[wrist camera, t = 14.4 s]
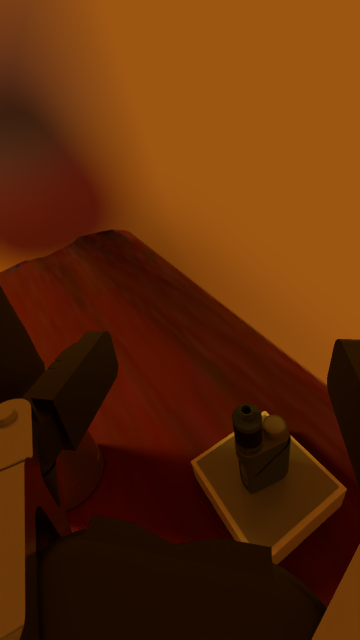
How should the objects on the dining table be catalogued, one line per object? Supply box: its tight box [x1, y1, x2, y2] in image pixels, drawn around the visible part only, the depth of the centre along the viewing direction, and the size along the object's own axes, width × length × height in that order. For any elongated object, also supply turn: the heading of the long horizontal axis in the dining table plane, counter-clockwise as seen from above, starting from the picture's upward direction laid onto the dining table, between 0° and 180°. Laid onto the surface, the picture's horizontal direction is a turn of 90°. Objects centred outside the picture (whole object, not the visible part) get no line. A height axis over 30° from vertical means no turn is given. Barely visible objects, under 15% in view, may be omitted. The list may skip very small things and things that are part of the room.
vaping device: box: [232, 404, 291, 494], centre depth 26 cm, size 3×5×12 cm, turn 110°
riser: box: [191, 411, 347, 565], centre depth 31 cm, size 11×11×4 cm
